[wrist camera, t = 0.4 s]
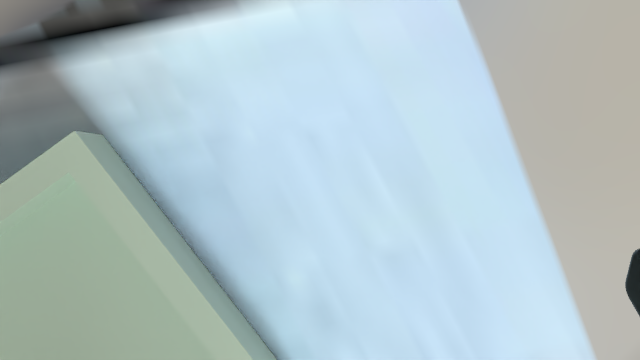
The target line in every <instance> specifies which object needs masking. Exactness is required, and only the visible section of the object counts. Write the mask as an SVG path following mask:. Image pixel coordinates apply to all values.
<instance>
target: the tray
mask: <svg viewBox="0 0 640 360" xmlns="http://www.w3.org/2000/svg"><path fill="white" fill-rule="evenodd" d="M0 360H277V359H276V358H275V356H274V355H273V354H272V352H271V351H270V350H269V349H268V347H267V346H266V345H265V343H264V342H263V341H262V340H261V338H260V337H259V336H258V334H257V333H256V332H255V331H254V329H253V328H252V327H251V325H250V324H249V323H248V322H247V320H246V319H245V318H244V316H243V315H242V314H241V313H240V311H239V310H238V309H237V307H236V306H235V305H234V303H233V302H232V301H231V300H230V298H229V297H228V296H227V294H226V293H225V292H224V291H223V289H222V288H221V287H220V285H219V284H218V283H217V282H216V280H215V279H214V278H213V276H212V275H211V274H210V273H209V271H208V270H207V269H206V267H205V266H204V265H203V264H202V262H201V261H200V260H199V258H198V257H197V256H196V255H195V253H194V252H193V251H192V249H191V248H190V247H189V246H188V244H187V243H186V242H185V240H184V239H183V238H182V236H181V235H180V234H179V233H178V231H177V230H176V229H175V227H174V226H173V225H172V224H171V222H170V221H169V220H168V218H167V217H166V216H165V215H164V213H163V212H162V211H161V209H160V208H159V207H158V206H157V204H156V203H155V202H154V200H153V199H152V198H151V197H150V195H149V194H148V193H147V191H146V190H145V189H144V188H143V186H142V185H141V184H140V182H139V181H138V180H137V179H136V177H135V176H134V175H133V173H132V172H131V171H130V169H129V168H128V167H127V166H126V164H125V163H124V162H123V160H122V159H121V158H120V157H119V155H118V154H117V153H116V151H115V150H114V149H113V148H112V146H111V145H110V144H109V142H108V141H107V140H106V139H105V137H104V136H103V135H100V134H94V133H87V132H80V131H73V132H72V133H70V134H69V135H68V136H66V137H65V138H63V139H62V140H61V141H59V142H58V143H56V144H55V145H54V146H52V147H51V148H50V149H48V150H47V151H45V152H44V153H43V154H41V155H40V156H39V157H37V158H36V159H34V160H33V161H32V162H30V163H29V164H28V165H26V166H25V167H23V168H22V169H21V170H19V171H18V172H17V173H15V174H14V175H12V176H11V177H10V178H8V179H7V180H5V181H4V182H3V183H1V184H0Z"/></svg>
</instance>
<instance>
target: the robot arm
mask: <svg viewBox="0 0 640 360" xmlns="http://www.w3.org/2000/svg"><path fill="white" fill-rule="evenodd" d="M626 291H627V294H628V296H629V299H630V300H631V302H632V304H633V305H634V307H635V309H636V311H637V312H638V314H639V316H640V249H637V250H636V251H635V252H634V253H633V255H632V258H631V262H630V266H629V270H628V274H627V278H626Z"/></svg>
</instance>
